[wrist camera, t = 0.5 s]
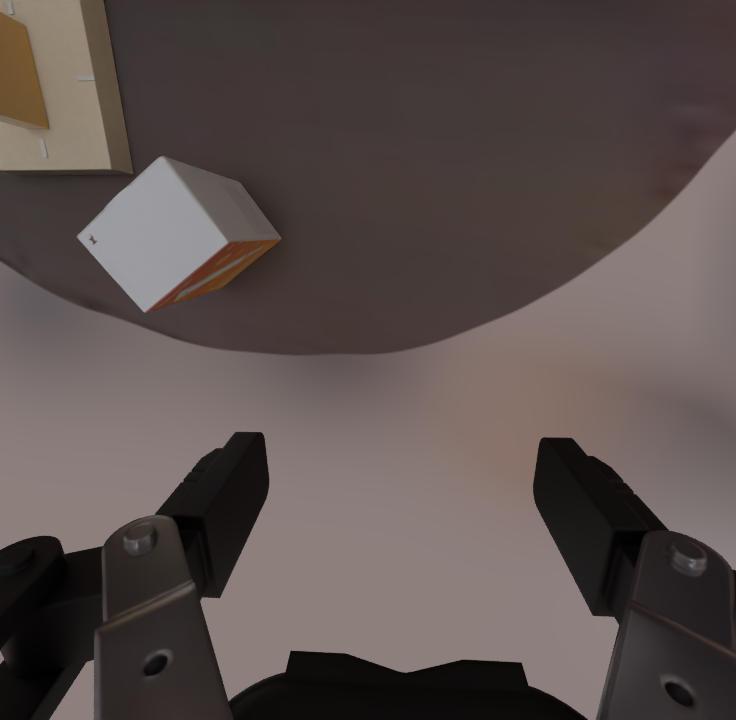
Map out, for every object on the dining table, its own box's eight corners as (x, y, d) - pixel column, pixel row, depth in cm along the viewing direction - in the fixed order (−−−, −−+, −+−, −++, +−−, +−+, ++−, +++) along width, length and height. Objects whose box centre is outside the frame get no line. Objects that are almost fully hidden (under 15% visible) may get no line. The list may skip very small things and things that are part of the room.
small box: (223, 289, 38) (142, 316, 26) (178, 234, 37) (71, 236, 25) (285, 239, 36) (230, 242, 24) (240, 179, 35) (158, 150, 23)
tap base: (-34, -28, 31) (-79, -56, 28) (99, -34, 31) (67, -63, 28) (19, 175, 36) (-15, 170, 33) (135, 174, 35) (111, 168, 32)
